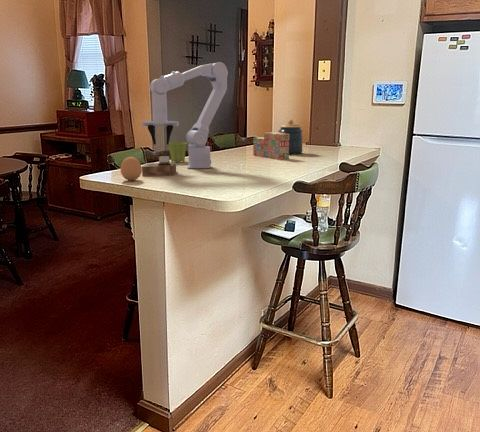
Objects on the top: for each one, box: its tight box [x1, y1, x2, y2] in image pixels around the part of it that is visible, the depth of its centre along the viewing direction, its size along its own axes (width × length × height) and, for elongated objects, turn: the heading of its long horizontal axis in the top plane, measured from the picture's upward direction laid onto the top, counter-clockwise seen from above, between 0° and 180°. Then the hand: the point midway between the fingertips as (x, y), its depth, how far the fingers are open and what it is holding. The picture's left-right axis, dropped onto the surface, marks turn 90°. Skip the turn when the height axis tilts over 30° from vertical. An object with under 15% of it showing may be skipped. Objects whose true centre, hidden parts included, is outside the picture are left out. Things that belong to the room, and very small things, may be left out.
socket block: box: [141, 162, 177, 177], centre depth 184 cm, size 12×10×4 cm
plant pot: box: [167, 141, 188, 163], centre depth 218 cm, size 9×9×9 cm
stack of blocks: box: [252, 131, 290, 161], centre depth 234 cm, size 21×6×12 cm, turn 34°
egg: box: [120, 156, 142, 182], centre depth 167 cm, size 7×7×8 cm
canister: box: [277, 119, 304, 156], centre depth 249 cm, size 13×13×18 cm
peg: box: [158, 155, 171, 165], centre depth 183 cm, size 4×4×4 cm
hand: (161, 144), depth 191 cm, fingers open, 5 cm apart
